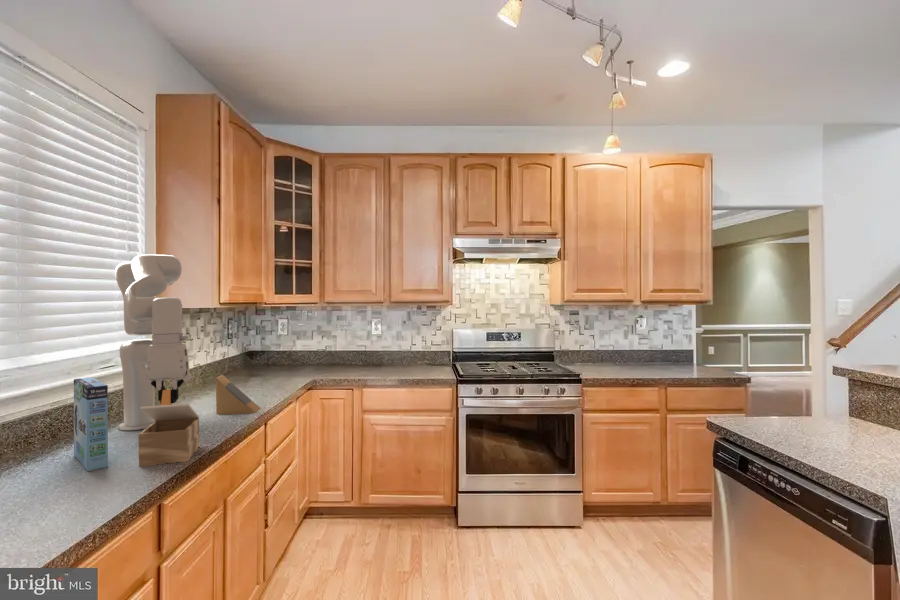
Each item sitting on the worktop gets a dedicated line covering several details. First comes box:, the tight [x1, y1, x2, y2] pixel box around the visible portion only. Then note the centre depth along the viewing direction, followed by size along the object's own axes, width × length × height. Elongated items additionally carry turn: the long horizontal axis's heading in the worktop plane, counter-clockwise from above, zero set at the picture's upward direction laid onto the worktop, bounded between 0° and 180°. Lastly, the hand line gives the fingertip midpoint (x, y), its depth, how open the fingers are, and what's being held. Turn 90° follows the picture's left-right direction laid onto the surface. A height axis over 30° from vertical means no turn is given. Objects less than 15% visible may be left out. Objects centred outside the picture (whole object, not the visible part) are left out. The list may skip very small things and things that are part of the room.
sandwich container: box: [215, 374, 261, 415], centre depth 192 cm, size 9×15×15 cm, turn 100°
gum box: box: [73, 376, 109, 473], centre depth 134 cm, size 20×5×23 cm, turn 47°
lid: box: [140, 389, 200, 421], centre depth 140 cm, size 14×12×5 cm
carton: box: [137, 417, 200, 467], centre depth 138 cm, size 14×12×9 cm
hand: (168, 402), depth 137 cm, fingers closed on lid, 2 cm apart
